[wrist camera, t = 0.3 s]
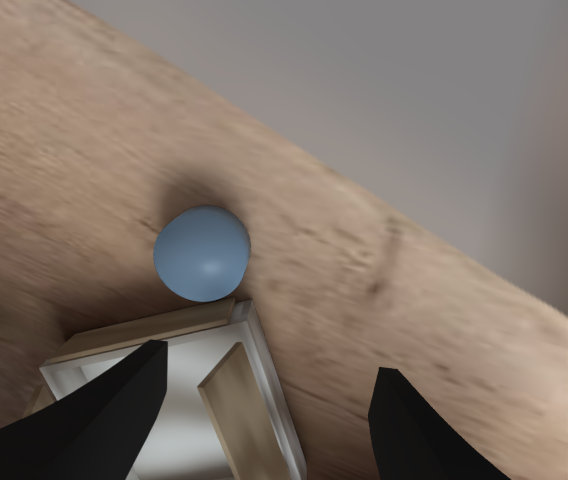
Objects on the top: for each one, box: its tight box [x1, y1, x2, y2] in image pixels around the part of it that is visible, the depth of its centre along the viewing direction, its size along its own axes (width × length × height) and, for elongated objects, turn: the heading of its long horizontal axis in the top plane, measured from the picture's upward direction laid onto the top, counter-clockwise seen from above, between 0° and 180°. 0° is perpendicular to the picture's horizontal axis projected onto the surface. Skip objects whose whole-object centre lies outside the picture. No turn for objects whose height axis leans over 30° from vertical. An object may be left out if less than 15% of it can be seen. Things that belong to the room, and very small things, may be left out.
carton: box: [39, 297, 307, 480], centre depth 24 cm, size 15×13×3 cm
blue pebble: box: [153, 205, 251, 302], centre depth 21 cm, size 5×5×2 cm
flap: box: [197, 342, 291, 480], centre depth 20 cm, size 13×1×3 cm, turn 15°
